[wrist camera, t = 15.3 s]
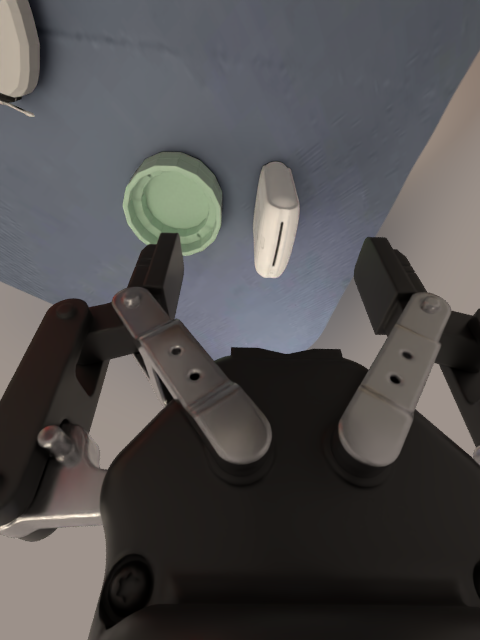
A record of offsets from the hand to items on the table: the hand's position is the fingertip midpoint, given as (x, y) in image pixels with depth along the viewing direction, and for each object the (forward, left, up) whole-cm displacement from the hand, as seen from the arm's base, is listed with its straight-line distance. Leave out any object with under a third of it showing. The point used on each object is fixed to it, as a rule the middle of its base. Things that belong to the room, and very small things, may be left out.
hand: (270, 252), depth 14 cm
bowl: (+12, -10, -30) cm, 34 cm away
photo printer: (+12, +3, -30) cm, 33 cm away
